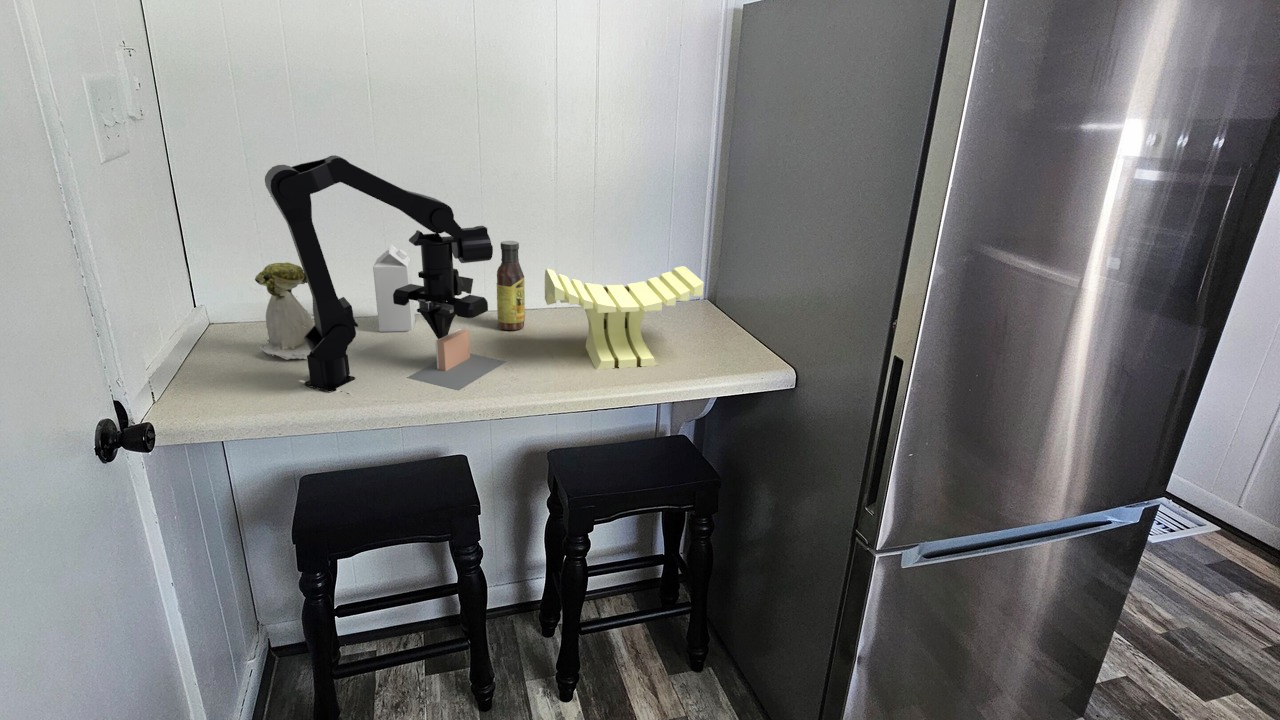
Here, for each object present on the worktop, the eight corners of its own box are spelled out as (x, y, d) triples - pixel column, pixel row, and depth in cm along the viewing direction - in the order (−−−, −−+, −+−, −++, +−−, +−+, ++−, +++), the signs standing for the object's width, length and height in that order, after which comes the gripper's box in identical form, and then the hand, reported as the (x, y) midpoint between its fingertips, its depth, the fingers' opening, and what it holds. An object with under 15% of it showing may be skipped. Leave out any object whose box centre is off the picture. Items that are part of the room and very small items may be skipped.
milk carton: (379, 332, 158) (371, 248, 151) (383, 322, 165) (375, 241, 157) (412, 331, 160) (406, 248, 152) (415, 321, 166) (409, 241, 159)
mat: (458, 392, 132) (458, 390, 132) (406, 379, 136) (406, 377, 136) (506, 363, 146) (506, 361, 145) (458, 352, 150) (457, 350, 150)
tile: (445, 371, 139) (443, 342, 137) (437, 369, 140) (435, 340, 138) (470, 357, 146) (468, 330, 144) (462, 355, 147) (460, 328, 145)
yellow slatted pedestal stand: (675, 337, 164) (680, 262, 157) (697, 364, 150) (703, 282, 143) (544, 343, 157) (544, 264, 150) (554, 372, 143) (554, 286, 136)
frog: (282, 367, 139) (268, 275, 132) (249, 350, 146) (234, 262, 139) (339, 350, 148) (328, 264, 141) (305, 335, 155) (293, 252, 148)
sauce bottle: (522, 332, 163) (521, 246, 155) (495, 331, 163) (492, 245, 155) (527, 322, 169) (526, 240, 161) (500, 321, 169) (498, 238, 161)
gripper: (502, 263, 140) (504, 337, 146) (425, 250, 147) (430, 322, 153) (469, 276, 131) (472, 355, 137) (387, 262, 137) (394, 338, 143)
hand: (442, 341), depth 143 cm, fingers closed
